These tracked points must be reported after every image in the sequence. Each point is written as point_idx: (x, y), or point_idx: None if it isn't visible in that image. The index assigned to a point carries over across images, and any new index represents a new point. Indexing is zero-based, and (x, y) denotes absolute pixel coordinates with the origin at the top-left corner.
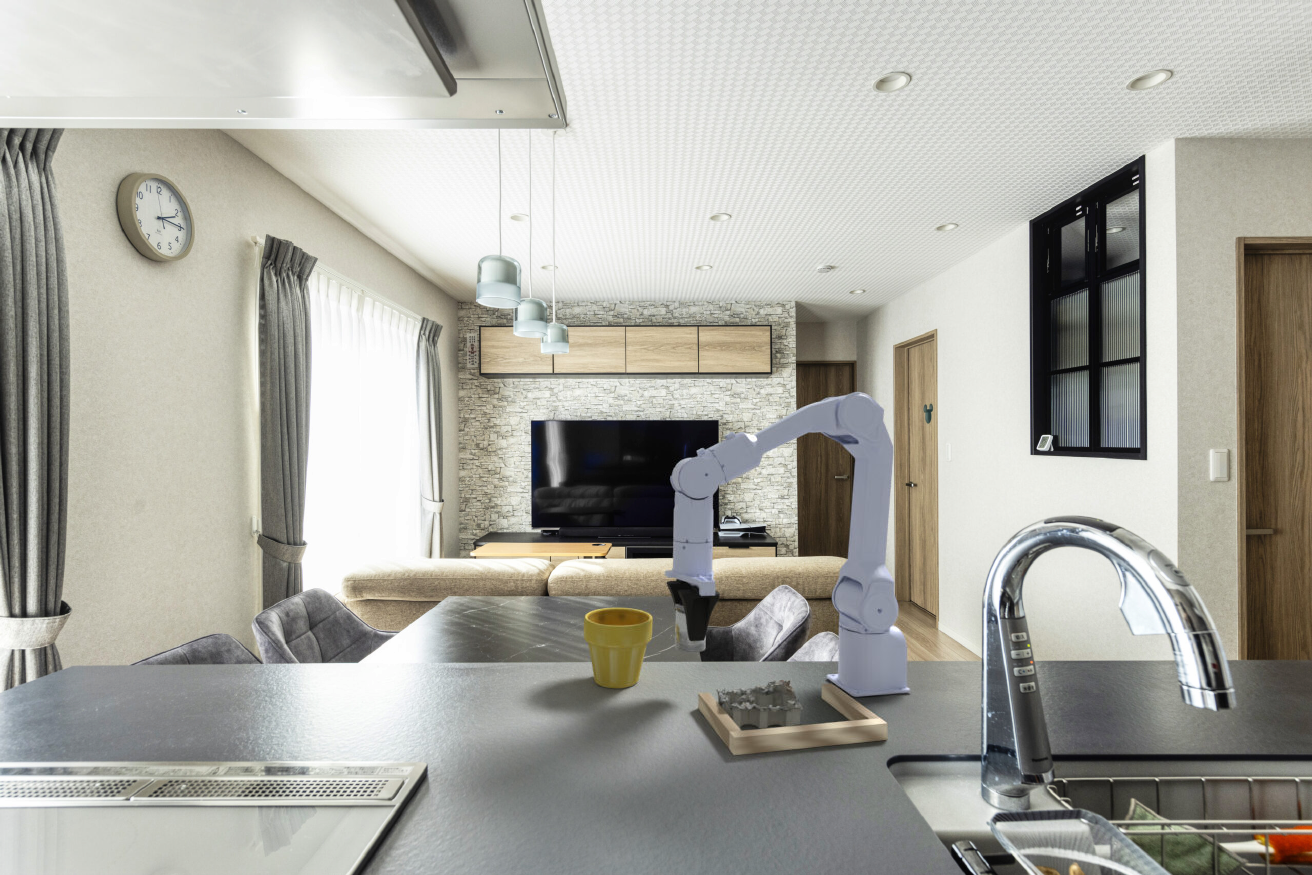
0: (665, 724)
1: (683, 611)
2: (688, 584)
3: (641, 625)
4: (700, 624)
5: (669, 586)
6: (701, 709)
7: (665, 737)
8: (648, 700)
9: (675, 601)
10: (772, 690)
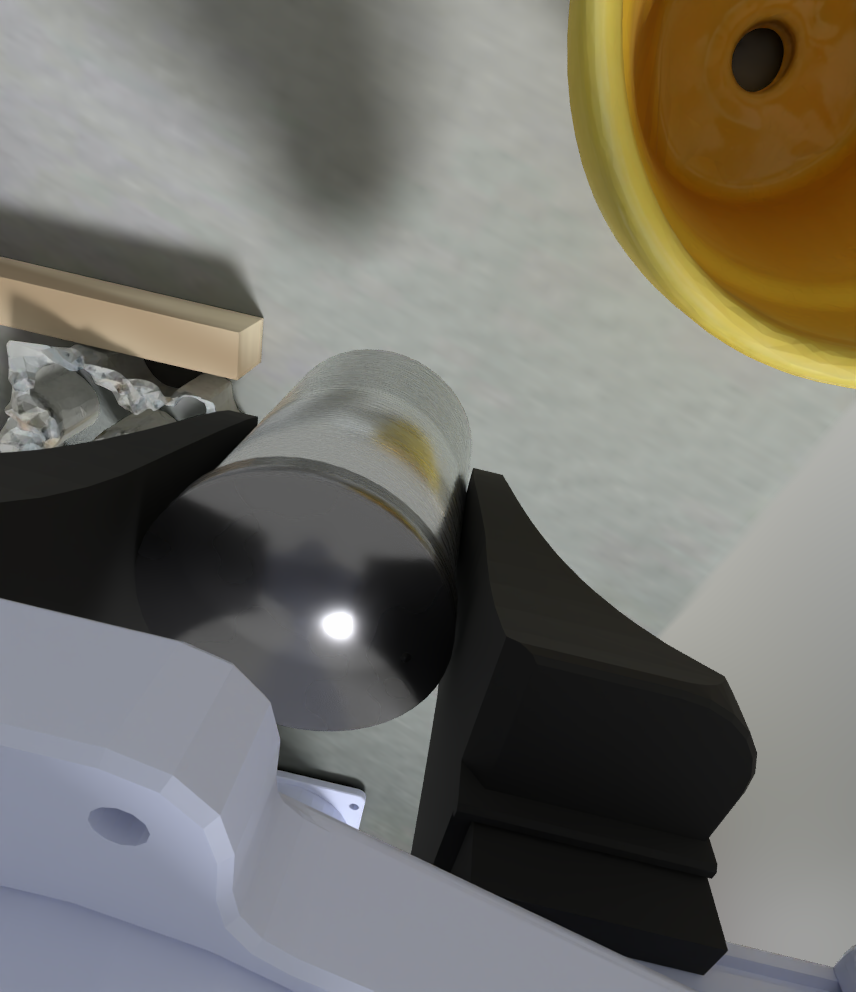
0: (134, 83)
1: (199, 480)
2: (436, 841)
3: (590, 121)
4: None
5: (539, 638)
6: (213, 309)
7: (7, 13)
8: (410, 131)
9: (489, 565)
10: None
